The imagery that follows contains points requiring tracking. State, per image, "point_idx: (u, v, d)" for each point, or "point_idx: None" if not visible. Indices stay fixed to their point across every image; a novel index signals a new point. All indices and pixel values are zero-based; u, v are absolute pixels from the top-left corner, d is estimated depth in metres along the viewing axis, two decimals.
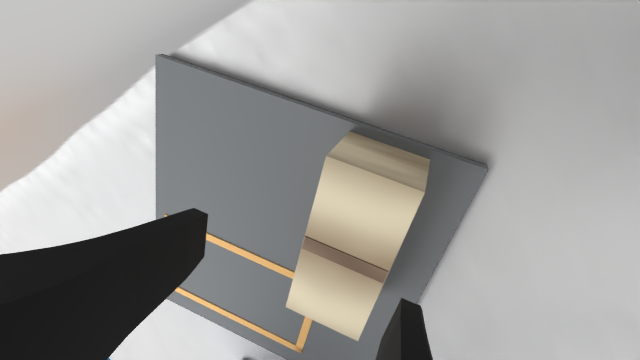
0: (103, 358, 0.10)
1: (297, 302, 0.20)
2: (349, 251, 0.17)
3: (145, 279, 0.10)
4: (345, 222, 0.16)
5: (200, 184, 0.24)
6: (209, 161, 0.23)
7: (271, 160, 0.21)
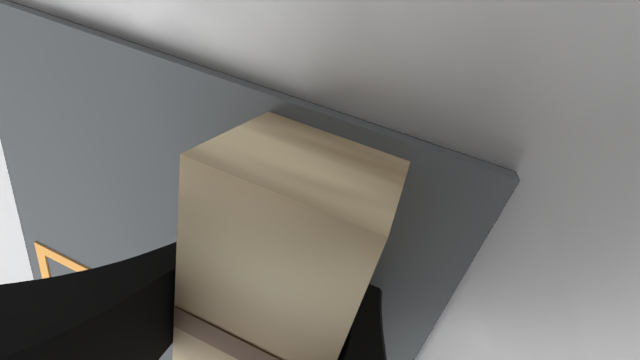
0: None
1: None
2: (253, 340, 0.09)
3: None
4: (237, 287, 0.08)
5: (69, 199, 0.16)
6: (74, 165, 0.15)
7: (156, 163, 0.13)
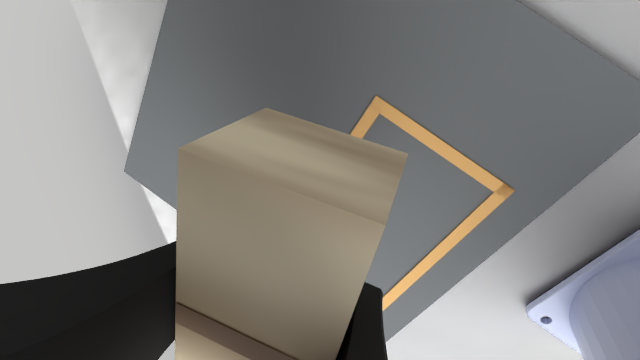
0: None
1: None
2: (254, 334, 0.09)
3: None
4: (237, 280, 0.08)
5: None
6: None
7: (208, 100, 0.19)
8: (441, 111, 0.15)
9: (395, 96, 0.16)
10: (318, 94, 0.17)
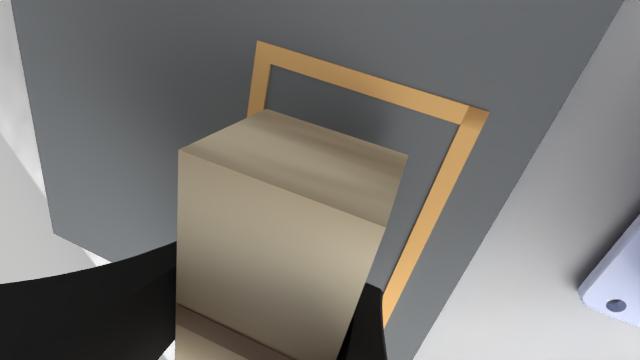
0: None
1: None
2: (255, 335, 0.09)
3: None
4: (237, 282, 0.08)
5: (160, 233, 0.17)
6: (128, 209, 0.17)
7: (92, 120, 0.16)
8: (344, 30, 0.11)
9: (280, 32, 0.11)
10: (195, 66, 0.13)
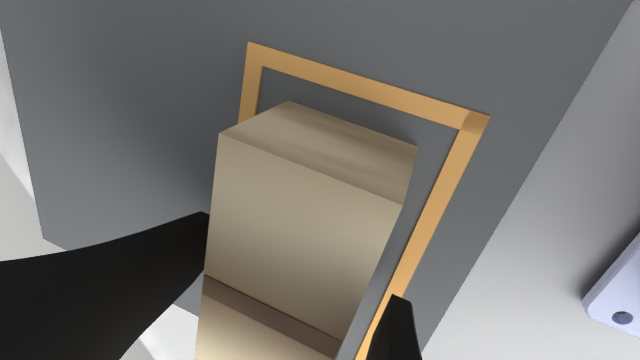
0: None
1: None
2: (276, 304, 0.10)
3: (154, 283, 0.10)
4: (264, 255, 0.09)
5: None
6: (118, 215, 0.17)
7: (80, 123, 0.15)
8: (339, 30, 0.10)
9: (272, 33, 0.11)
10: (185, 68, 0.12)
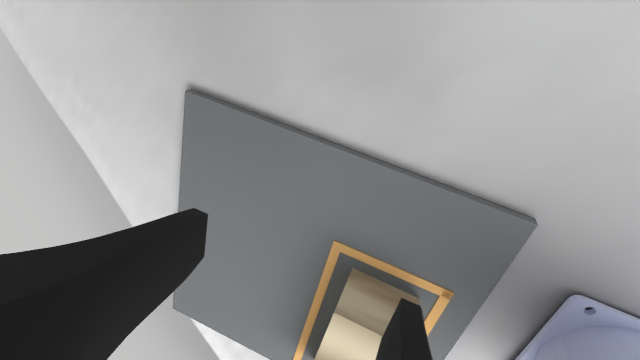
0: (103, 358, 0.10)
1: None
2: None
3: (145, 279, 0.10)
4: (347, 359, 0.20)
5: (255, 319, 0.27)
6: (234, 303, 0.27)
7: (220, 254, 0.26)
8: (382, 245, 0.21)
9: (347, 239, 0.21)
10: (295, 243, 0.23)
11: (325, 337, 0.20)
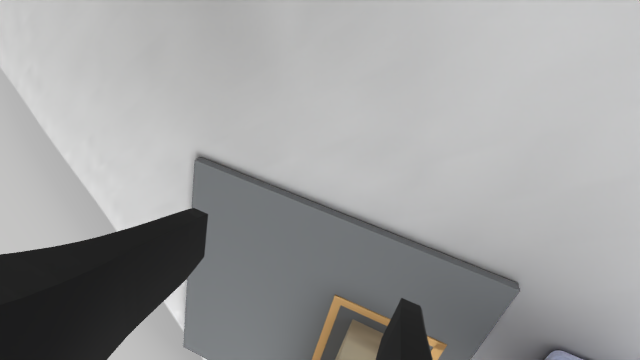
0: (103, 358, 0.10)
1: None
2: None
3: (145, 279, 0.10)
4: None
5: (261, 359, 0.29)
6: (242, 345, 0.29)
7: (228, 302, 0.27)
8: (379, 301, 0.22)
9: (347, 294, 0.23)
10: (298, 295, 0.25)
11: None
